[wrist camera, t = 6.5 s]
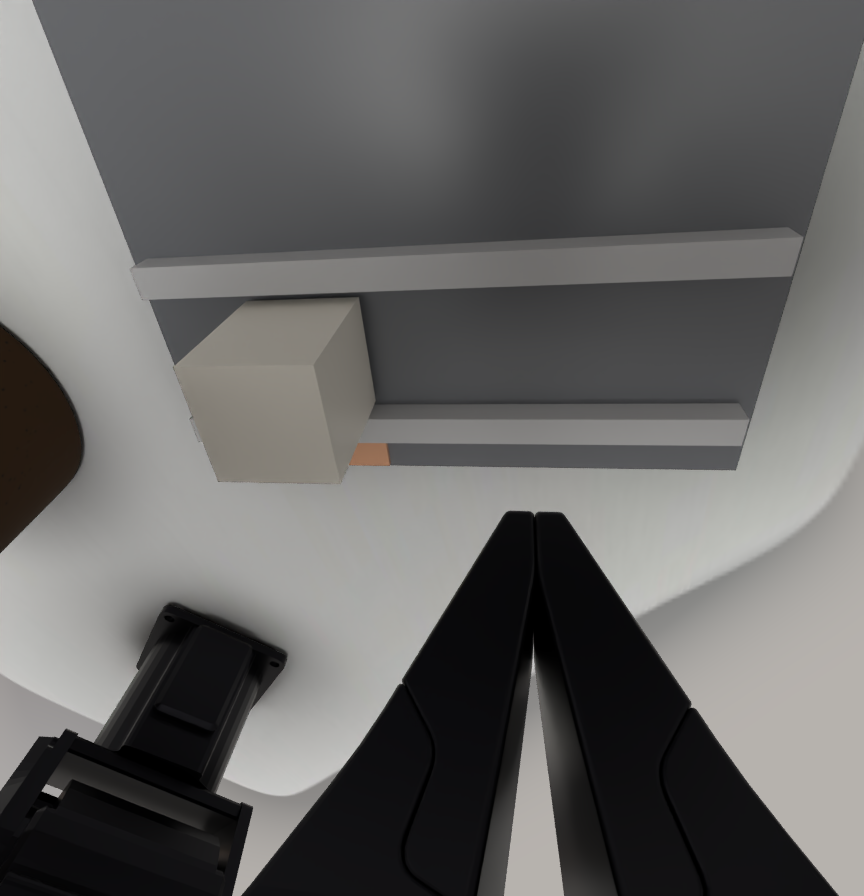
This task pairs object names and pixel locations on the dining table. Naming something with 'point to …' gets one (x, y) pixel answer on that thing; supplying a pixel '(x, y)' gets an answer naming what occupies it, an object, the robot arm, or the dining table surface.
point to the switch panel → (480, 199)
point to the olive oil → (31, 439)
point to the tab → (281, 390)
